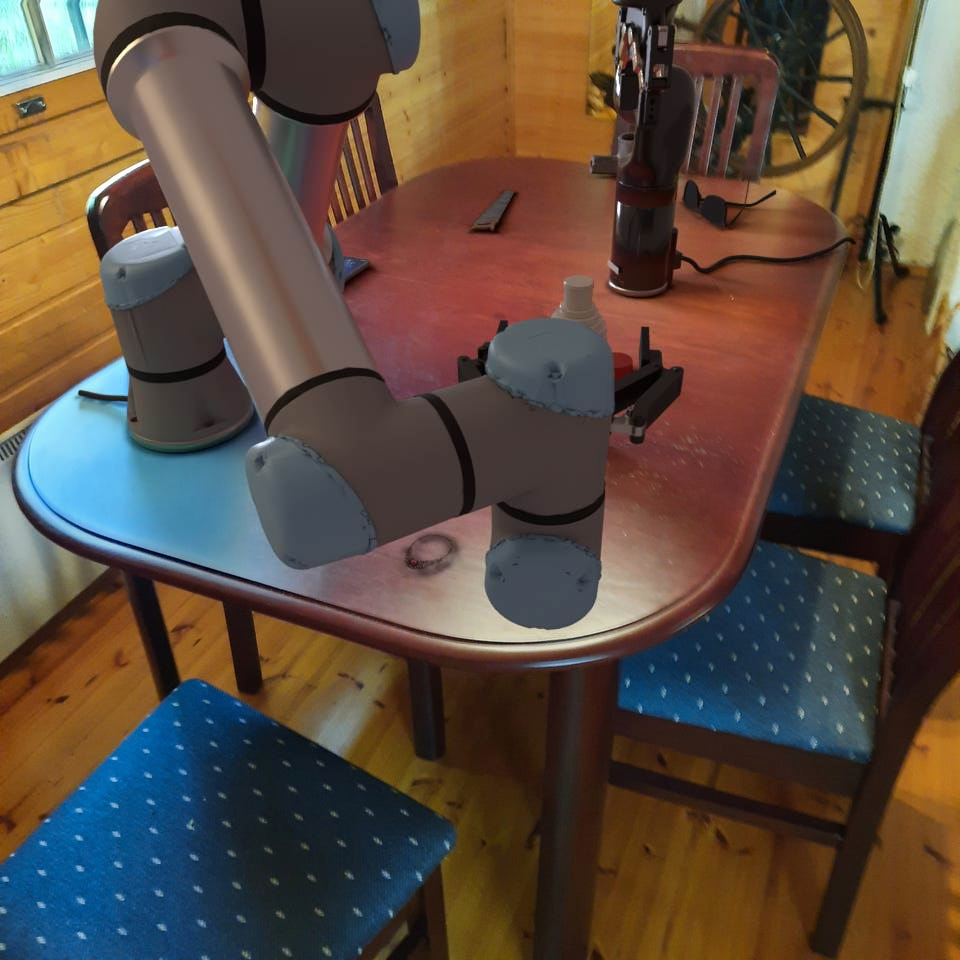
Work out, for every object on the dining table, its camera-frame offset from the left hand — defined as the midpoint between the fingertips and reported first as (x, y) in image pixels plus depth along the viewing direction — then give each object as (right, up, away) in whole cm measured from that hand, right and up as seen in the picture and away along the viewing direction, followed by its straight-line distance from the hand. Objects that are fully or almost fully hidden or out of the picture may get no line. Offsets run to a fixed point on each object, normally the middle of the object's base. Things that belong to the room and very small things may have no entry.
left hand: (573, 335), depth 83 cm
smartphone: (-34, +20, +60) cm, 72 cm away
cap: (+9, +2, +32) cm, 33 cm away
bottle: (+2, -10, +19) cm, 22 cm away
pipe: (+21, +51, +100) cm, 115 cm away
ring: (-14, -22, +4) cm, 26 cm away
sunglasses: (+39, +38, +81) cm, 98 cm away
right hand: (+9, +27, +13) cm, 31 cm away
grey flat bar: (-6, +38, +84) cm, 93 cm away
